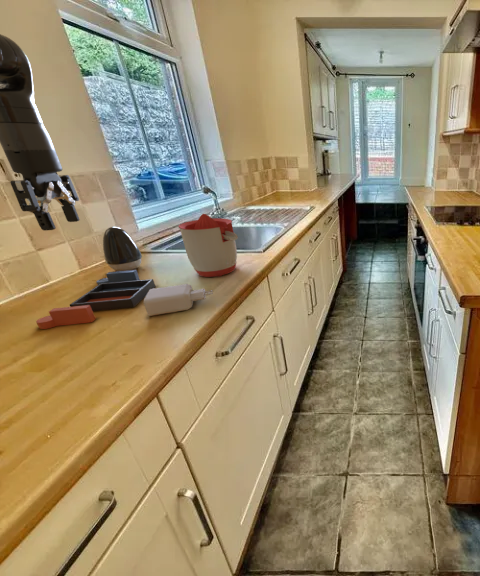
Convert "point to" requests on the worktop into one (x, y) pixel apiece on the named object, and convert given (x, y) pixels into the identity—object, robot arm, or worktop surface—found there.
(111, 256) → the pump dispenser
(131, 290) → the cutlery tray
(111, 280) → the slate-blue spoon
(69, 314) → the terracotta spoon
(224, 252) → the citrus juicer
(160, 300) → the charger
